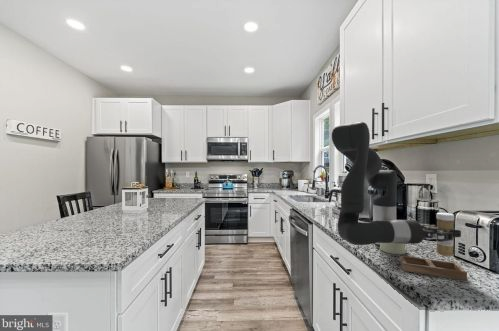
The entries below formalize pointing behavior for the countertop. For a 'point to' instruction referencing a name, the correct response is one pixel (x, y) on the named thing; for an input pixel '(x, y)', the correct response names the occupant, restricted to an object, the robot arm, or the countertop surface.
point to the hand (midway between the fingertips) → (453, 231)
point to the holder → (433, 267)
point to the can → (392, 247)
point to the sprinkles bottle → (445, 223)
